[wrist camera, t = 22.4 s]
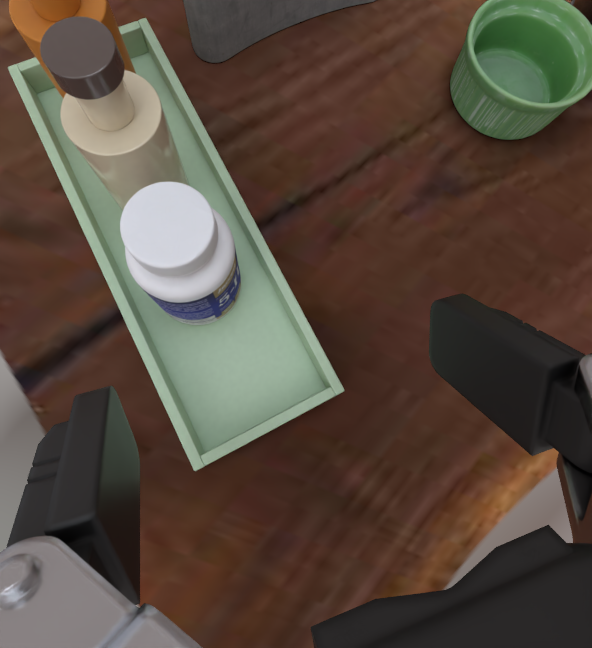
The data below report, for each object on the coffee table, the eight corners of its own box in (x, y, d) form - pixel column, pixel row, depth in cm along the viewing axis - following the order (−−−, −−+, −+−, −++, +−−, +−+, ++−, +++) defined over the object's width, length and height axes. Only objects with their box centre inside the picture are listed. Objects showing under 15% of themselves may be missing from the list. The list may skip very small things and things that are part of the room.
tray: (156, 51, 31) (145, 16, 28) (337, 392, 27) (345, 390, 24) (31, 98, 29) (7, 66, 27) (202, 465, 25) (194, 471, 23)
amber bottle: (133, 74, 29) (48, -137, 18) (161, 129, 29) (91, -55, 17) (68, 99, 29) (-62, -104, 17) (95, 155, 28) (-22, -18, 17)
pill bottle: (241, 326, 26) (228, 284, 18) (154, 326, 26) (98, 284, 17) (242, 244, 27) (230, 168, 19) (158, 244, 27) (107, 165, 18)
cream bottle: (173, 152, 28) (110, -19, 17) (203, 210, 28) (158, 72, 16) (107, 179, 28) (-4, 19, 16) (136, 239, 27) (41, 117, 16)
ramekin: (577, 135, 32) (625, 92, 27) (465, 160, 31) (497, 119, 26) (533, 33, 33) (572, -22, 29) (425, 54, 32) (449, -1, 28)
